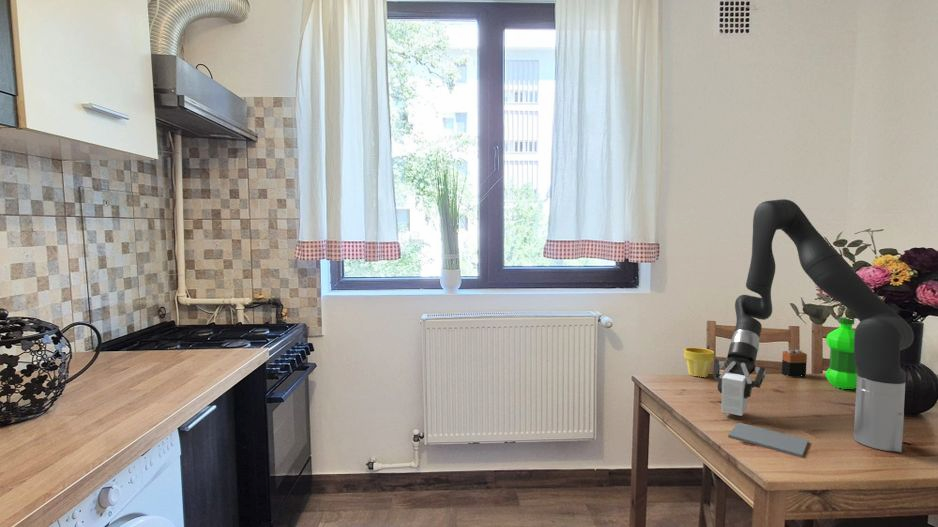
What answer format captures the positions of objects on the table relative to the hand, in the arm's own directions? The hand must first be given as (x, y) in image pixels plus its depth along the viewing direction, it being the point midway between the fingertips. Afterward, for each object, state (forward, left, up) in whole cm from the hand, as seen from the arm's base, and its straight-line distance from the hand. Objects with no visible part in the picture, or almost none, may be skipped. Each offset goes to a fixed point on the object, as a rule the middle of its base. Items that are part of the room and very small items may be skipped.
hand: (732, 394), depth 133 cm
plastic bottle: (-22, -57, -7) cm, 61 cm away
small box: (0, -2, -6) cm, 6 cm away
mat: (-11, +10, -7) cm, 17 cm away
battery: (-7, -62, -7) cm, 62 cm away
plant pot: (+20, -37, -7) cm, 42 cm away
